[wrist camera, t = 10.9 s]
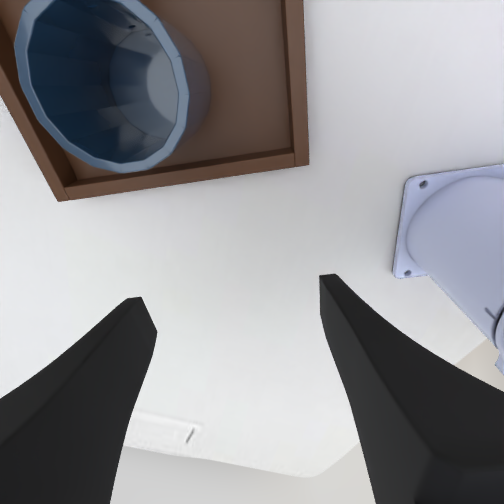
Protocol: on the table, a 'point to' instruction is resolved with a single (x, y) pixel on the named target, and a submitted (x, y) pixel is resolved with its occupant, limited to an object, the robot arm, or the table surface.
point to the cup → (111, 80)
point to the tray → (222, 99)
